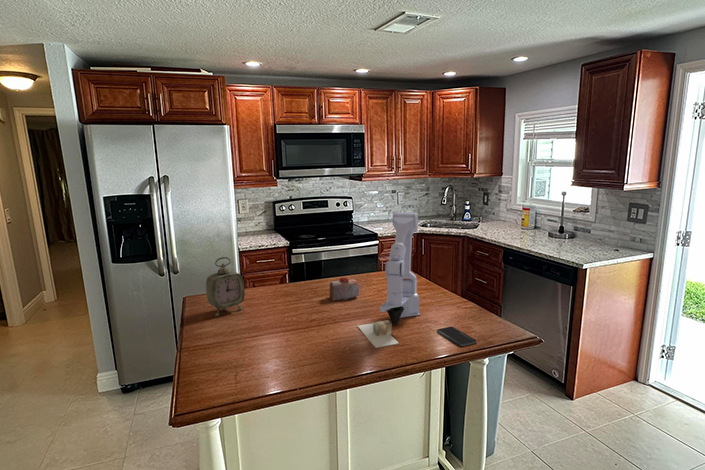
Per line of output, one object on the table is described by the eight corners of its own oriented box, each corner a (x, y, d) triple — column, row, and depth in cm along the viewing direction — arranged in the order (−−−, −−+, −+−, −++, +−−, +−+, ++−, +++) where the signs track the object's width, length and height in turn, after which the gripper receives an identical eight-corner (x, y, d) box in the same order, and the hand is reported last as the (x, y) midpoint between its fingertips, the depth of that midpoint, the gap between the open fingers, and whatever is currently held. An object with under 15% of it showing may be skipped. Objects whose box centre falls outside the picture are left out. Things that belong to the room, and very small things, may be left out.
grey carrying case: (354, 293, 205) (354, 274, 203) (360, 298, 197) (360, 278, 195) (328, 297, 200) (327, 277, 198) (333, 302, 192) (333, 282, 191)
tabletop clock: (214, 318, 175) (210, 261, 170) (206, 313, 181) (201, 258, 177) (246, 310, 184) (242, 256, 179) (237, 305, 191) (233, 252, 186)
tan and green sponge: (387, 320, 159) (373, 322, 157) (391, 324, 155) (376, 326, 153) (387, 329, 159) (373, 332, 158) (391, 334, 156) (377, 336, 154)
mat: (378, 323, 167) (378, 322, 167) (398, 344, 148) (398, 343, 148) (357, 326, 164) (357, 325, 164) (375, 347, 145) (375, 346, 145)
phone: (460, 345, 145) (435, 329, 158) (460, 348, 145) (435, 332, 158) (478, 341, 148) (452, 326, 161) (478, 344, 148) (452, 328, 161)
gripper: (399, 284, 163) (399, 317, 165) (373, 293, 153) (374, 327, 156) (413, 288, 158) (413, 322, 160) (387, 297, 148) (387, 332, 151)
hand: (394, 325), depth 158 cm, fingers closed
